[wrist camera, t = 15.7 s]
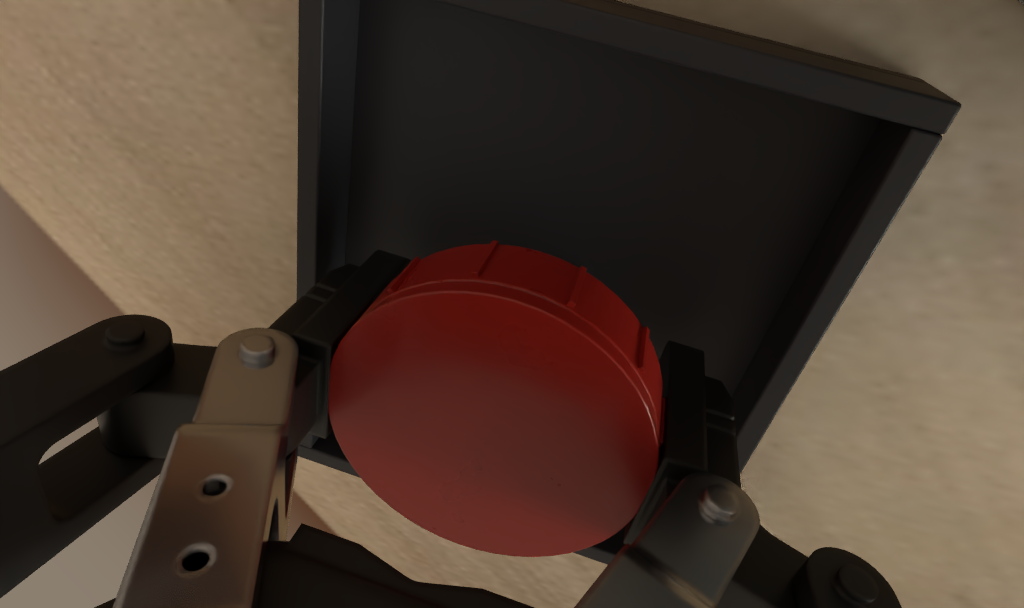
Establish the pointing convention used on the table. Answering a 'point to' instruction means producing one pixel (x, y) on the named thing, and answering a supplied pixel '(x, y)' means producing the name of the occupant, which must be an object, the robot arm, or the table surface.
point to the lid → (501, 401)
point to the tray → (611, 167)
